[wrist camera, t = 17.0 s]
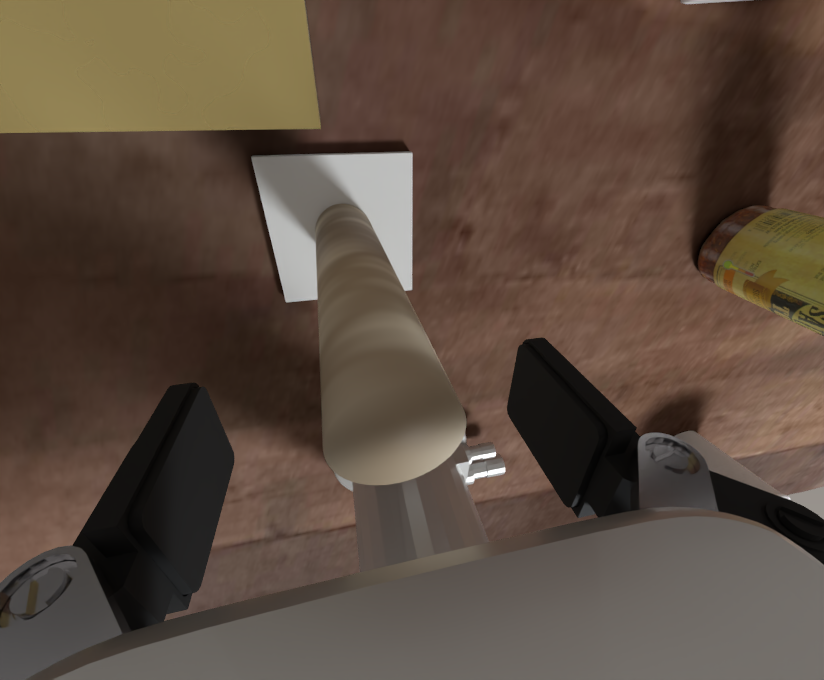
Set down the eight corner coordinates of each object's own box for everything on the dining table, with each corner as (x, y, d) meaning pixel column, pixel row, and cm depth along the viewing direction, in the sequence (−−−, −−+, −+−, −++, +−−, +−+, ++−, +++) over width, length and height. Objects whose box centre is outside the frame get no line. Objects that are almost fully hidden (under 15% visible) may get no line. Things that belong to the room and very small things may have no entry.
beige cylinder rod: (370, 201, 19) (473, 373, 7) (373, 257, 21) (460, 468, 9) (310, 205, 18) (310, 400, 6) (319, 262, 20) (333, 497, 8)
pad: (409, 151, 18) (412, 152, 18) (410, 286, 23) (412, 289, 23) (252, 155, 17) (251, 157, 17) (286, 297, 22) (286, 302, 21)
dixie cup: (635, 459, 45) (703, 537, 37) (689, 416, 42) (777, 492, 34) (665, 469, 49) (733, 542, 41) (717, 431, 45) (801, 502, 37)
